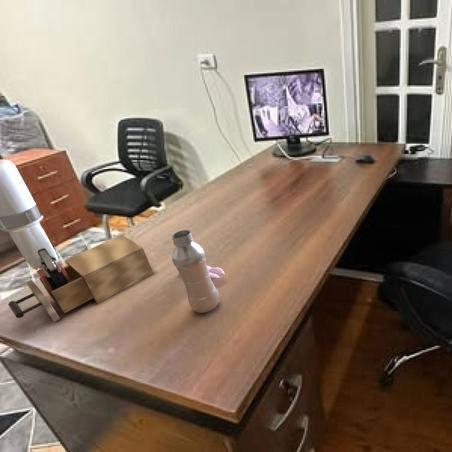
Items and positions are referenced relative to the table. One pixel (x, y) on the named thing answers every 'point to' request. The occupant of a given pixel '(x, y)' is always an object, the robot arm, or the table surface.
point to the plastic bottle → (194, 272)
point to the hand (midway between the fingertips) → (57, 283)
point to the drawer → (57, 296)
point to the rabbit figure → (214, 272)
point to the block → (43, 276)
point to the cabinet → (111, 266)
